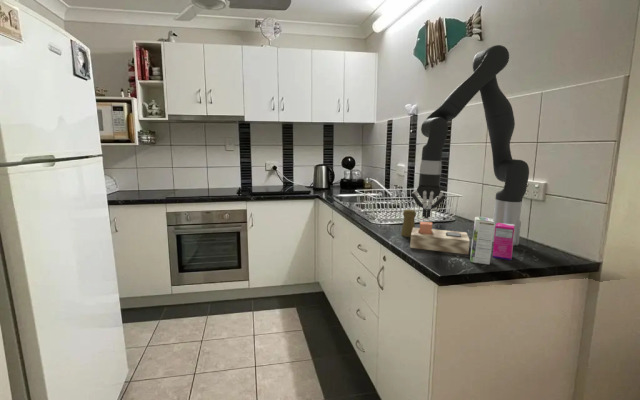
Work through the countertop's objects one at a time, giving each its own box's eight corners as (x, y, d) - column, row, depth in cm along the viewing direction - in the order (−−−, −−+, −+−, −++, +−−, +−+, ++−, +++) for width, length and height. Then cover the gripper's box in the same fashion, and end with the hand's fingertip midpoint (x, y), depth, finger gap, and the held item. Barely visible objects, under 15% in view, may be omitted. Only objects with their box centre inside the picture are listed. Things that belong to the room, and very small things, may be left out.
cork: (404, 232, 145) (406, 207, 143) (417, 235, 141) (419, 209, 139) (398, 235, 140) (399, 209, 138) (411, 237, 136) (413, 211, 134)
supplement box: (493, 252, 119) (496, 222, 117) (512, 256, 116) (516, 224, 114) (491, 257, 114) (495, 225, 112) (511, 260, 111) (515, 227, 109)
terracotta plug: (431, 235, 128) (432, 222, 127) (431, 238, 124) (432, 225, 123) (419, 233, 129) (420, 221, 128) (419, 236, 125) (419, 223, 124)
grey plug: (458, 245, 125) (459, 233, 124) (459, 249, 121) (460, 236, 120) (445, 244, 127) (447, 231, 126) (446, 247, 122) (447, 234, 122)
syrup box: (469, 257, 114) (473, 216, 111) (488, 259, 112) (493, 217, 109) (470, 262, 109) (475, 219, 106) (490, 265, 106) (495, 221, 104)
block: (465, 244, 128) (466, 232, 127) (468, 254, 117) (469, 240, 116) (412, 239, 134) (412, 227, 133) (410, 247, 123) (411, 234, 122)
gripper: (448, 173, 124) (444, 218, 127) (412, 171, 128) (408, 214, 131) (449, 174, 117) (444, 222, 120) (411, 172, 121) (407, 218, 124)
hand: (426, 218), depth 125 cm, fingers closed
